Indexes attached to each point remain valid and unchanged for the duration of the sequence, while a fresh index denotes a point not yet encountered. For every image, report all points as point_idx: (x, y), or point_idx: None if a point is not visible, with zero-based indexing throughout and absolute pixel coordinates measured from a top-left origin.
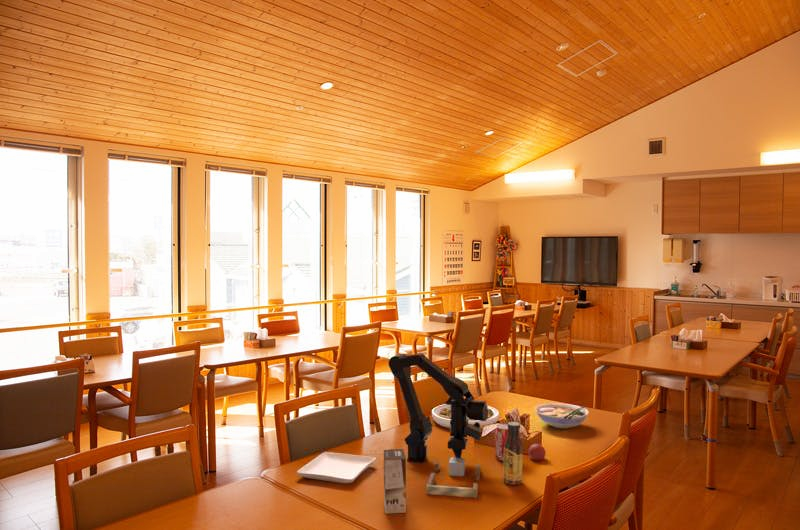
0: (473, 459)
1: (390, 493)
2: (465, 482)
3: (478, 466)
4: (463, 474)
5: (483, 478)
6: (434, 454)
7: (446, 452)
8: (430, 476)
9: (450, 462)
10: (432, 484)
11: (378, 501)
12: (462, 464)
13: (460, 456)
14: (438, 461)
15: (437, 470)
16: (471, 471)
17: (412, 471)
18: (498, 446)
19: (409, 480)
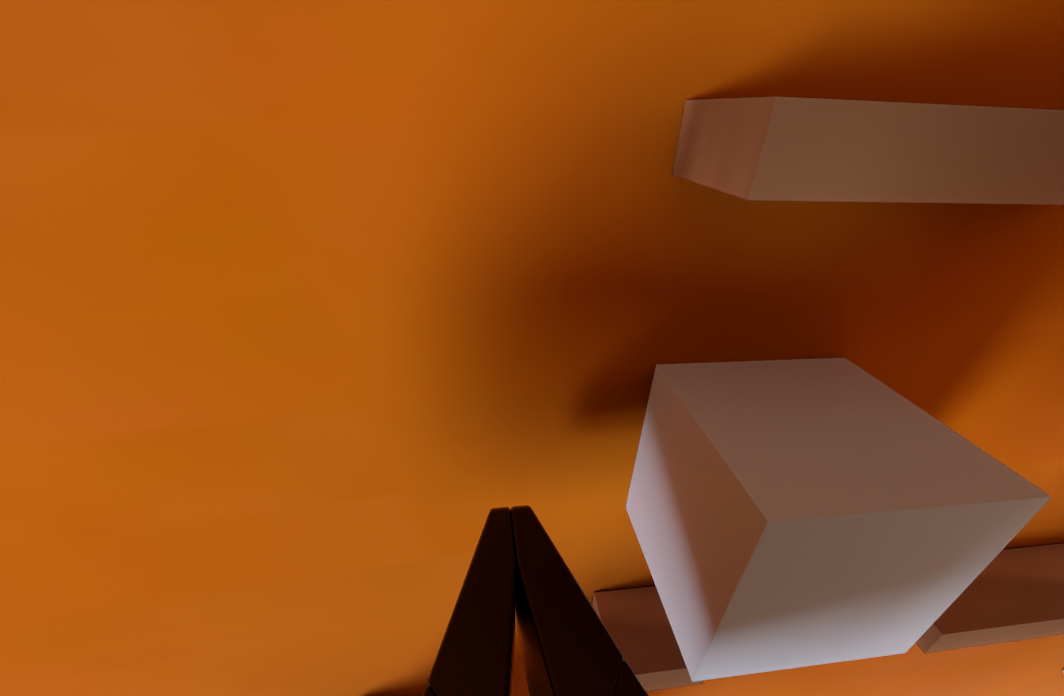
0: (56, 280)
1: None
2: (1045, 316)
3: (928, 152)
4: (864, 373)
5: (1040, 26)
6: (195, 689)
7: (29, 634)
8: (1008, 640)
9: (913, 643)
10: (1045, 573)
11: (1049, 683)
12: (1014, 495)
13: (577, 583)
14: None
15: None
16: (687, 270)
17: (666, 691)
18: None
19: (826, 666)
